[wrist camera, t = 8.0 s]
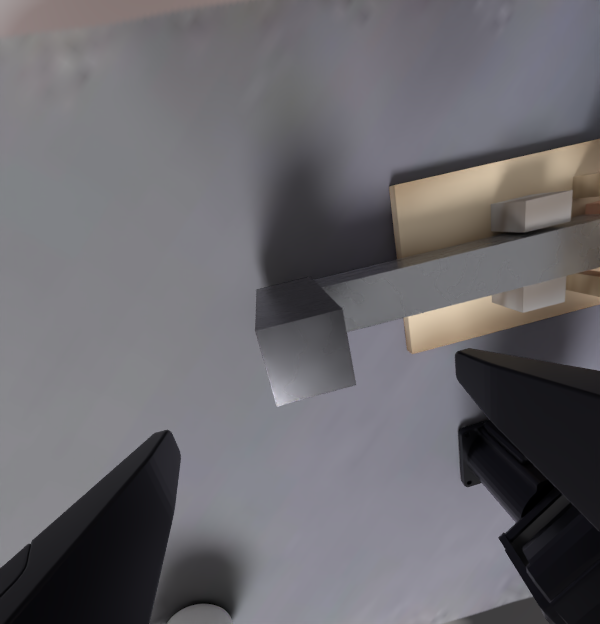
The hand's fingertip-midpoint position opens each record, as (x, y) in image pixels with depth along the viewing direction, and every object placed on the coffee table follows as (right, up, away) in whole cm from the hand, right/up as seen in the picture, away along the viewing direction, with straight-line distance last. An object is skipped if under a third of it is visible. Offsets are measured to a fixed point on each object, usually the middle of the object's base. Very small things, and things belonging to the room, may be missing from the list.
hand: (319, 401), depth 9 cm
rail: (+17, +8, +13) cm, 23 cm away
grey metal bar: (+8, +5, +11) cm, 14 cm away
